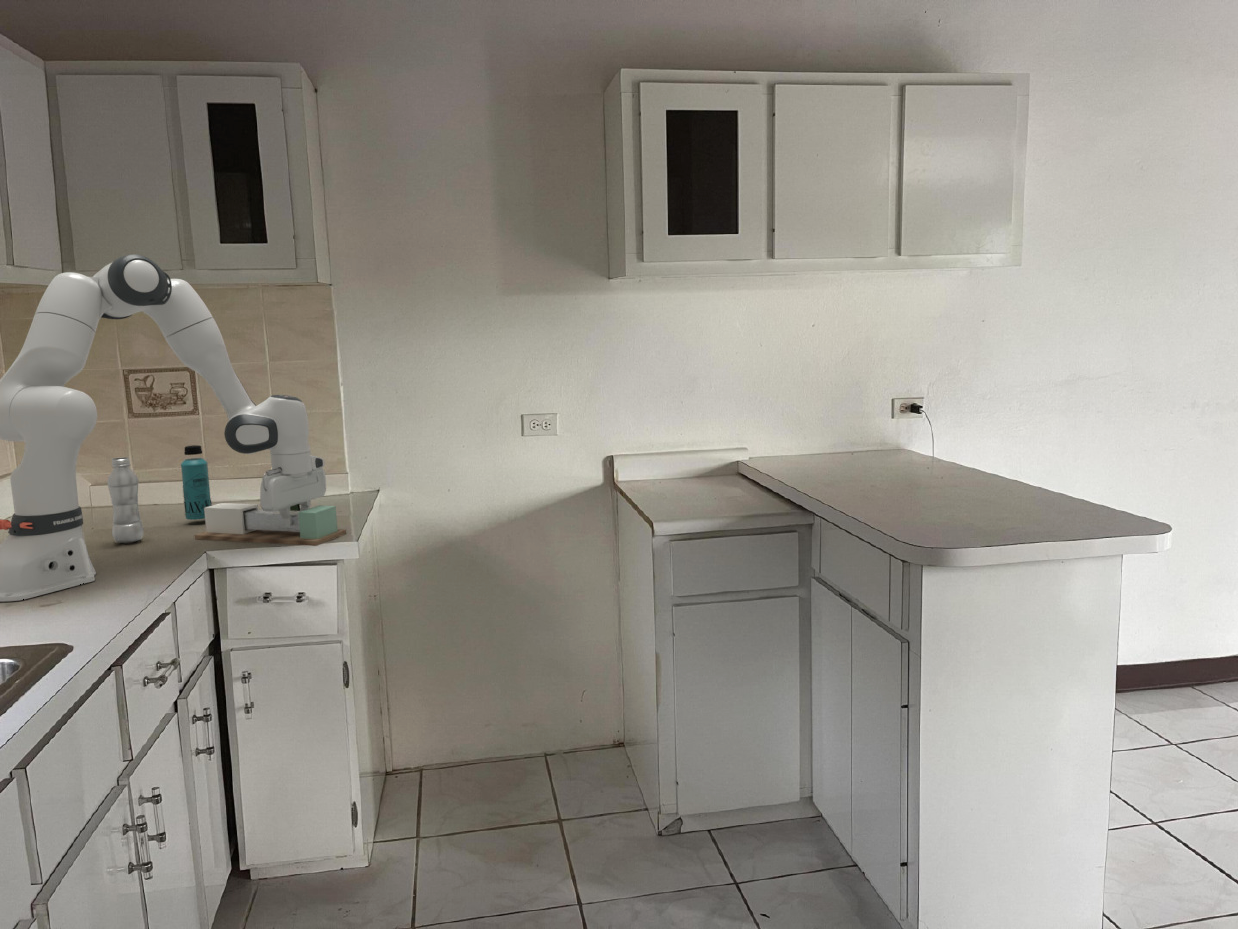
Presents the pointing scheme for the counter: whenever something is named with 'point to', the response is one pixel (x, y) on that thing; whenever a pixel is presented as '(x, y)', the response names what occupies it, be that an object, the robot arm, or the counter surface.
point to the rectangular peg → (269, 520)
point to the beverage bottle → (195, 484)
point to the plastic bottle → (124, 502)
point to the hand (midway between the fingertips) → (296, 522)
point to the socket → (317, 522)
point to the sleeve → (227, 518)
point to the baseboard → (269, 537)
